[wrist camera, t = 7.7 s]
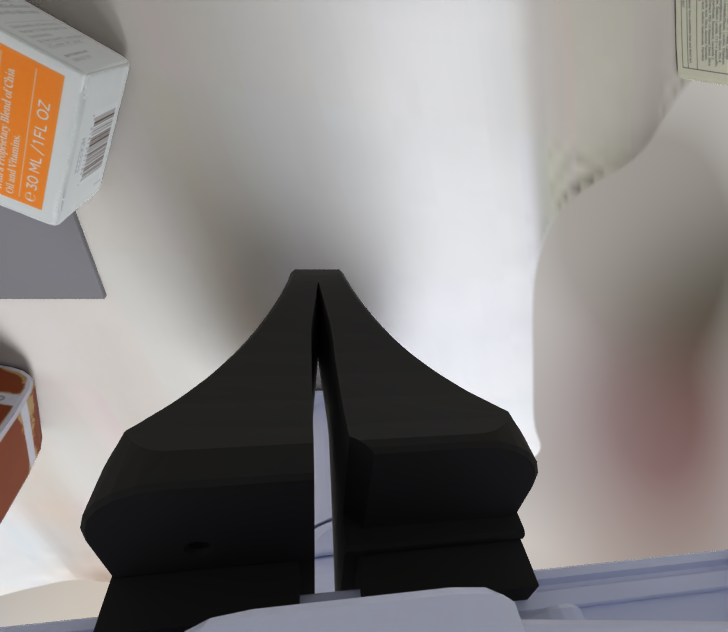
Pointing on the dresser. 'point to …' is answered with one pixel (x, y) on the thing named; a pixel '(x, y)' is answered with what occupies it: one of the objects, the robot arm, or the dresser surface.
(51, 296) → the rubber mat
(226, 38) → the dresser surface
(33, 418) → the cine camera
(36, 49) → the skincare box
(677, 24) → the skincare box
